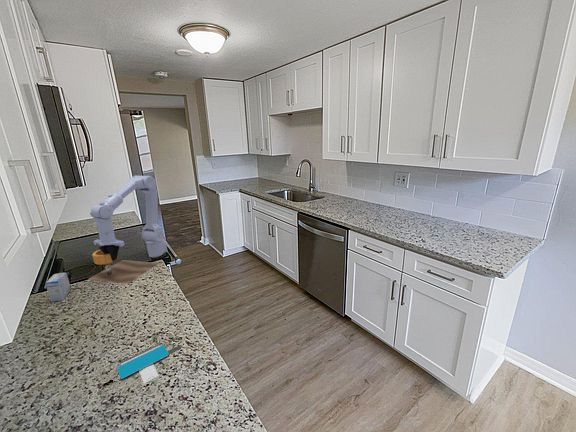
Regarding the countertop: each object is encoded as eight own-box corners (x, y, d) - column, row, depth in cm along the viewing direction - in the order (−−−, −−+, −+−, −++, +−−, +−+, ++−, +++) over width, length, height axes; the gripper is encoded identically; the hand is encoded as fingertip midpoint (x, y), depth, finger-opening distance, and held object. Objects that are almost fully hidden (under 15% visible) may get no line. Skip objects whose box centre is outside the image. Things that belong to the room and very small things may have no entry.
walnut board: (123, 262, 139) (122, 259, 138) (159, 265, 134) (159, 262, 133) (88, 282, 120) (87, 279, 120) (129, 286, 115) (128, 283, 115)
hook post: (109, 272, 125) (107, 265, 124) (113, 273, 125) (111, 265, 123) (106, 274, 123) (104, 267, 122) (109, 275, 123) (107, 267, 122)
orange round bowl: (106, 254, 127) (105, 247, 126) (122, 256, 125) (121, 248, 124) (89, 263, 119) (87, 255, 117) (105, 265, 117) (104, 257, 115)
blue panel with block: (106, 406, 63) (105, 401, 63) (100, 374, 72) (99, 370, 72) (189, 361, 76) (188, 356, 75) (175, 338, 85) (174, 334, 84)
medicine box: (59, 292, 113) (53, 273, 110) (71, 289, 114) (66, 271, 112) (50, 302, 106) (44, 283, 103) (64, 299, 107) (58, 280, 105)
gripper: (84, 234, 115) (92, 262, 119) (112, 235, 112) (119, 264, 116) (98, 228, 122) (105, 255, 125) (125, 230, 118) (131, 257, 122)
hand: (112, 259), depth 121 cm, fingers closed on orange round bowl, 2 cm apart
